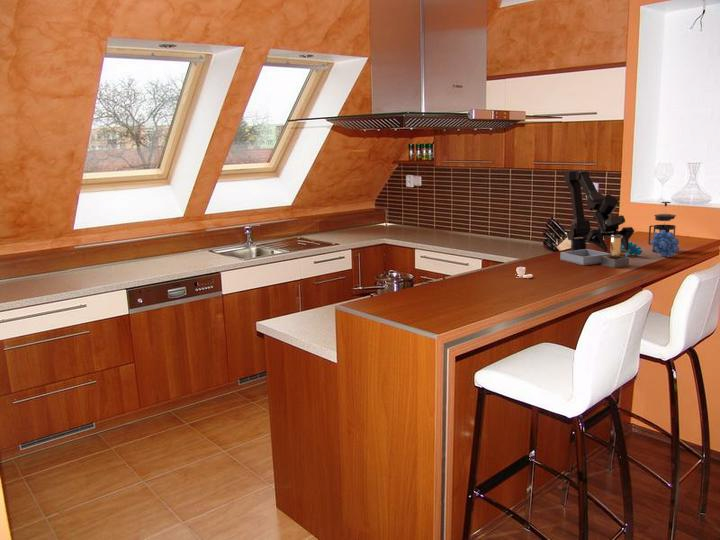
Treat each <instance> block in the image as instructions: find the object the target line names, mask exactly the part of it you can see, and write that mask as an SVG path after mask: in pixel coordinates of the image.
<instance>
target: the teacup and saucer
mask: <svg viewBox="0 0 720 540" xmlns="http://www.w3.org/2000/svg"><path fill="white" fill-rule="evenodd" d="M516 273H517V274H518V275H517V276H519V277H518V278H527V279H531V278H533V275H534V274H531V273H530V274H526V266H525V267H524V266H518V267H516ZM525 274H526V275H525Z"/></svg>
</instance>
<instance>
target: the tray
mask: <svg viewBox="0 0 720 540" xmlns="http://www.w3.org/2000/svg"><path fill="white" fill-rule="evenodd" d="M559 253H560V255H559V256H560V258H559V259H560V261H563V262H568V263H573V264H575V265H580V266H589V265H596V264H601V257H604V256H610V252H609V253H608V252H605V251H599V250H594V249H588V248H586V249H583V250H575V251H571V250H568V251H560V252H559Z"/></svg>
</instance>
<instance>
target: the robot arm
mask: <svg viewBox="0 0 720 540" xmlns="http://www.w3.org/2000/svg"><path fill="white" fill-rule="evenodd" d="M563 179H564V181H565V182H564V183H565V185H566V186H567V187H568V189H569V191H570V199H571V207H572V217H573V220H572V222H571V224H570V230H569V232H568V233H567V234H566V235H567V240H568V241H570V251H575V250H583V249H587V243H586V241H587V242H589V243H591V244H595V246H597V247H598V248H600V249H602V250H603V252H605V253H608V248H607V245H606V242H605V240H604V238H605V237H606V238H609V237H610V238H611V235H612V234H620V235H621V243H622V245H623V246H624V248H625V249H626V250H628V243H629V241H630V240H629V239H631V238H632V235H633V234H634V232H635V229H634V228H633V227H631V226H625V227H624V226H623V227H622V229H621V230H619V226H620V225H623V224H625V222H626V218H625V216H624V215H621V214H620V215H618V216H611V214H613V212H614V211H615V210H616V208H617V206H618V204H619V199H618V198H616V197H615V196H612V194H610V193H607V194H605V196H604V195H603V194H602V193H601V192H599V191H598V190H597V188H596V186H595V184H594V182H593V180H592V179H591V176H590V172H589V171H588V170H582V169H573V170H572V169H570V170H569V169H568V170H566V172H565V173H564V174H563ZM582 190H583V192H584V194H585V196H586V207H587V209H588V210H589V211H590V212H591V211H594V214H593V216H592V220H596V223H597V225H598V226H597V228H596V229H594V228H592V229H591V222H590V220H589V219H587V218H586V217H585V211H584V202H583V194H582ZM623 246H622V247H623Z"/></svg>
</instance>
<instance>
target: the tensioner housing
mask: <svg viewBox="0 0 720 540" xmlns="http://www.w3.org/2000/svg"><path fill="white" fill-rule="evenodd" d="M600 265H601V266H605V267H609V268H614V269H616V268H623V267H624V268H625V267H629V265H630V257H629V256H628V257H625V256H622V255H620V258H619V259H612V258H610V256H604V257H601V263H600Z"/></svg>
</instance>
